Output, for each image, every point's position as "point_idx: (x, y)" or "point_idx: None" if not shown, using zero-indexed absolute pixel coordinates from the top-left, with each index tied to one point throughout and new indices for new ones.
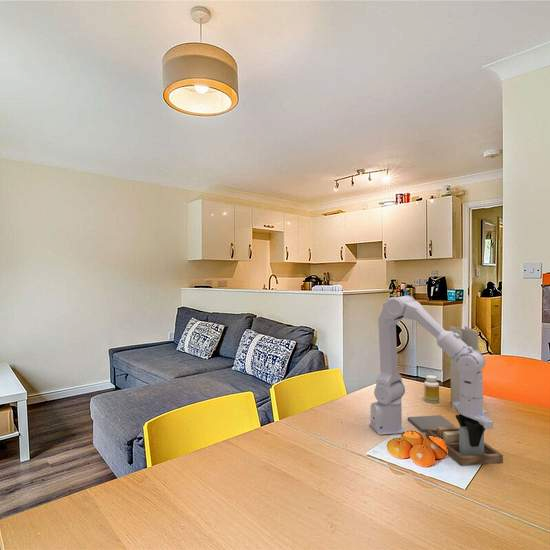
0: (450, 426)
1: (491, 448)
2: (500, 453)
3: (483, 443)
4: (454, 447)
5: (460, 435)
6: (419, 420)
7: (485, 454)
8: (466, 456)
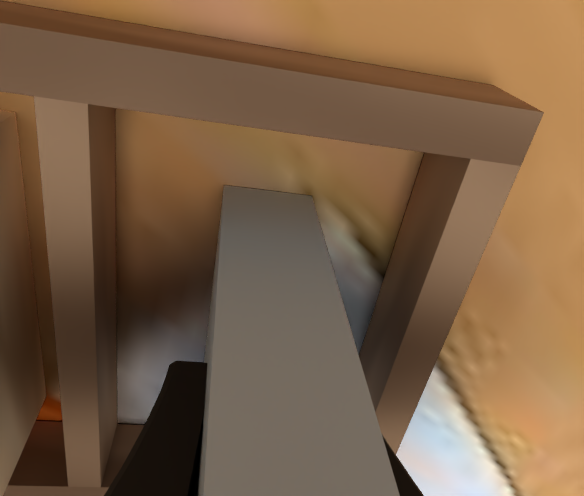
0: None
1: (329, 106)
2: (497, 104)
3: (340, 306)
4: (107, 403)
5: None
6: None
7: (417, 304)
8: None
